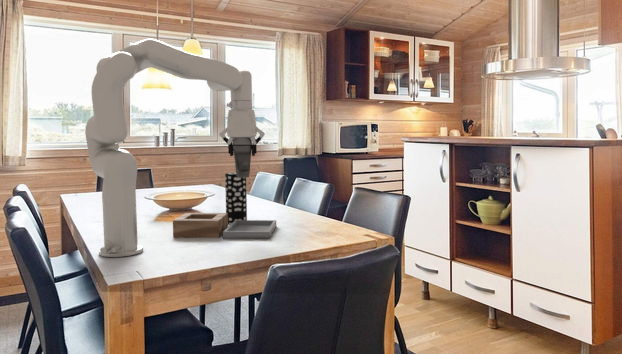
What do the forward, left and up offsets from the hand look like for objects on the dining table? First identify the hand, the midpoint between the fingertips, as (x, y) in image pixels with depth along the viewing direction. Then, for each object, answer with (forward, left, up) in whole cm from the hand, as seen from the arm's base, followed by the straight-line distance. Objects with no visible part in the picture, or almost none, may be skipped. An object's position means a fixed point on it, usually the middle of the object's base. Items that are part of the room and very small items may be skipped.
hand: (242, 155), depth 179 cm
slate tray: (0, -3, -28) cm, 28 cm away
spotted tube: (+19, +6, -28) cm, 35 cm away
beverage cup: (0, 0, -8) cm, 8 cm away
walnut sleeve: (-1, +15, -28) cm, 32 cm away
